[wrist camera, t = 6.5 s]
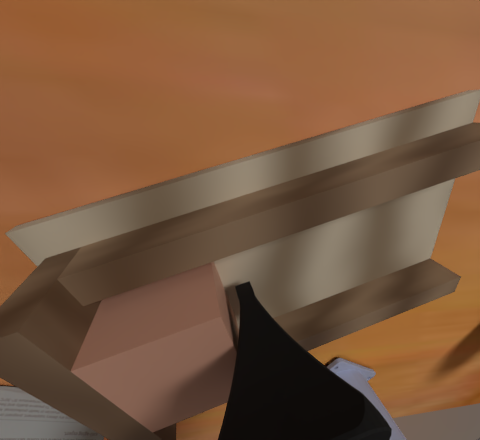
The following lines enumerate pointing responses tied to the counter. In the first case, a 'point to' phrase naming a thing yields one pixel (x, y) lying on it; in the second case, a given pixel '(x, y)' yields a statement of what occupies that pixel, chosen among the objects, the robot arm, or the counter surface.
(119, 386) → the block
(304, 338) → the channel
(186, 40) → the counter surface
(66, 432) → the supplement box
